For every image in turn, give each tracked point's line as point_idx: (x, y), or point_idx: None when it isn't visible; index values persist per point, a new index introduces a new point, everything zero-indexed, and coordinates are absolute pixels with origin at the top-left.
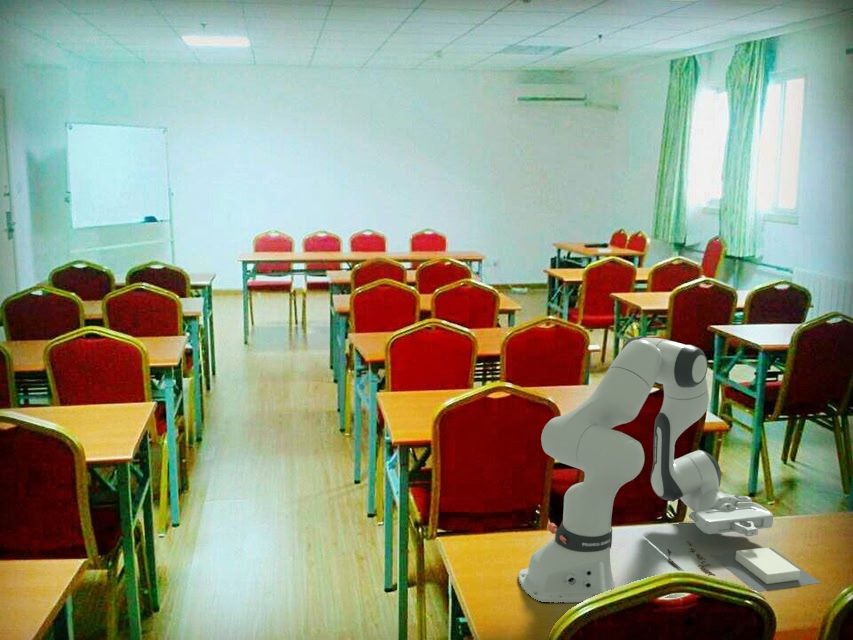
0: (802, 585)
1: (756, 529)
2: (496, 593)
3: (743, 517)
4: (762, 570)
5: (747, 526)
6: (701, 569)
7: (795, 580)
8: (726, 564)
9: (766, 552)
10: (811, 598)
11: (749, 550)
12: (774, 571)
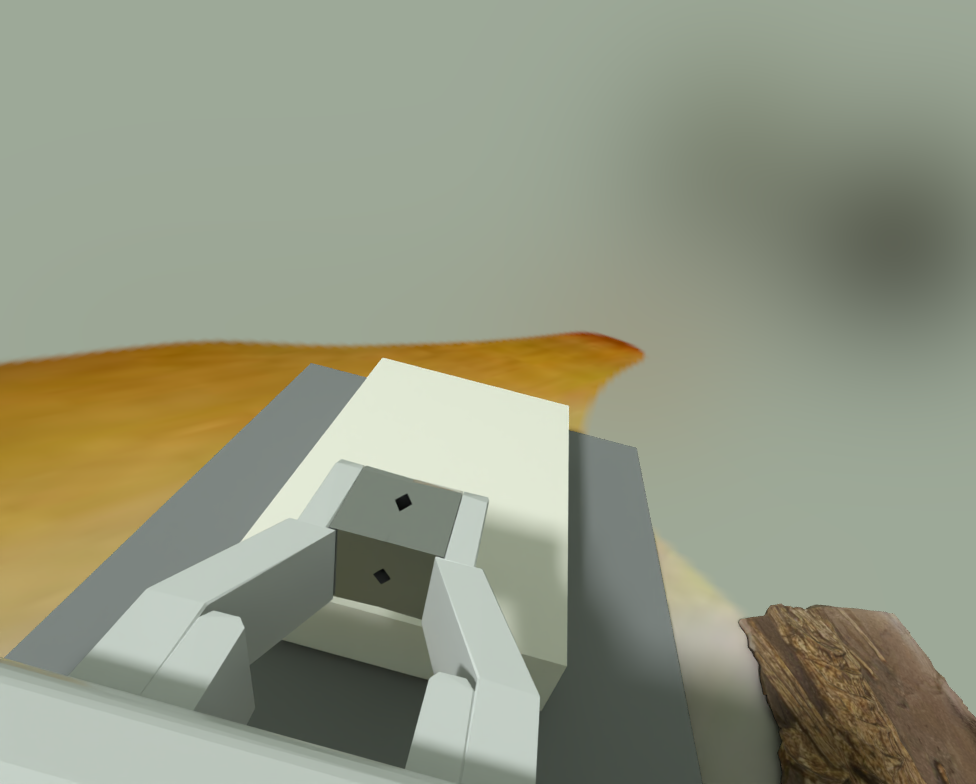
0: None
1: (358, 464)
2: None
3: (163, 765)
4: (568, 429)
5: (241, 687)
6: (888, 735)
7: None
8: (651, 701)
9: None
10: (446, 363)
11: None
12: (512, 403)
